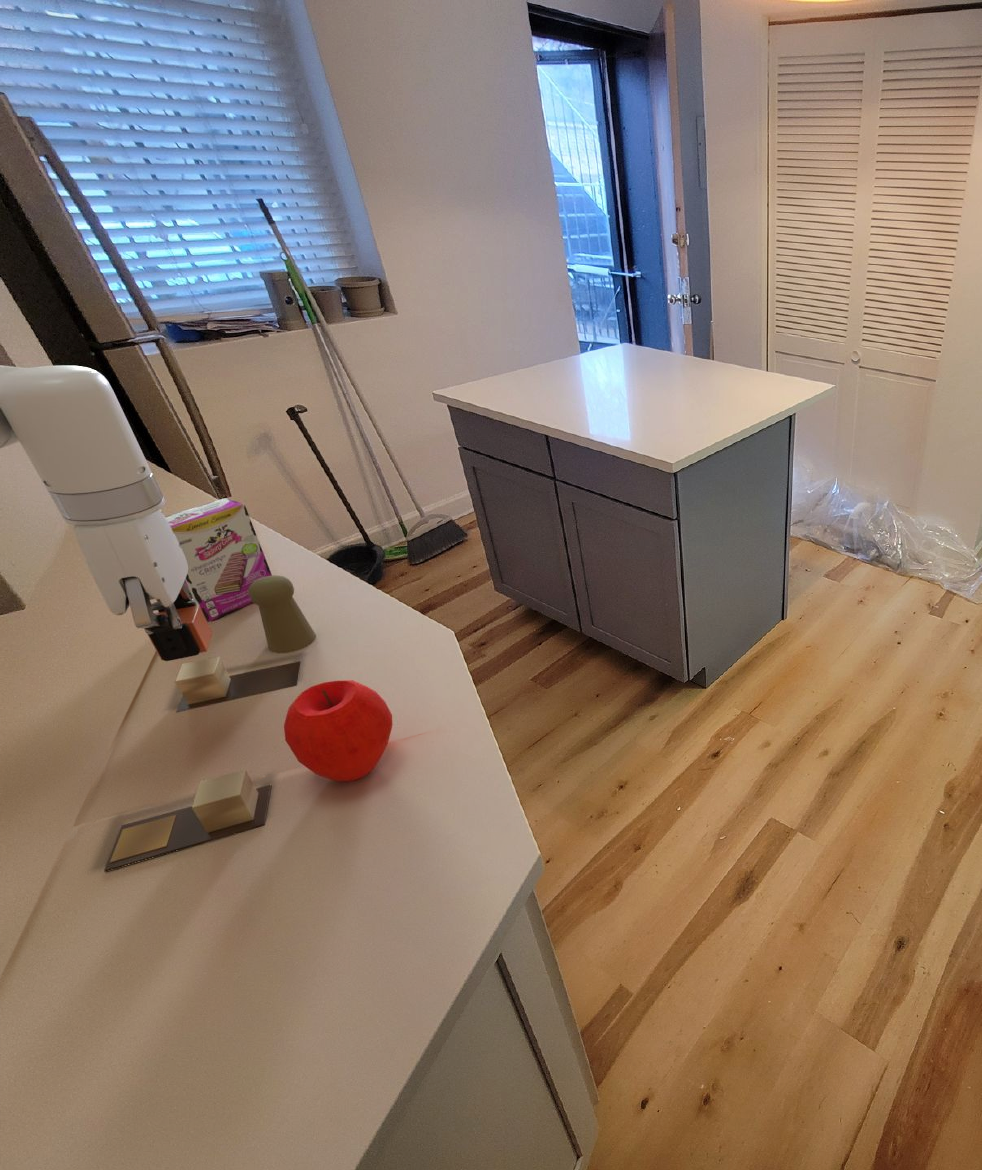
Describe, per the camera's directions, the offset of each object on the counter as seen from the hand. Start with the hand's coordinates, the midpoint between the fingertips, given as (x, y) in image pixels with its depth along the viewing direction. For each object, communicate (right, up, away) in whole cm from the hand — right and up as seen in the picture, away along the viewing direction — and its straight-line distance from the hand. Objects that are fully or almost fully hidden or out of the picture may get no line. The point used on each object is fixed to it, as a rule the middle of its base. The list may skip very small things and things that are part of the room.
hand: (186, 644), depth 73 cm
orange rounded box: (0, 0, 0) cm, 0 cm away
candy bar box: (-21, +4, +32) cm, 39 cm away
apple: (+17, -15, +4) cm, 23 cm away
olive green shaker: (-6, -2, +24) cm, 25 cm away
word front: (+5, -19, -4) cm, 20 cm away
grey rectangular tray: (-6, -7, +15) cm, 18 cm away
